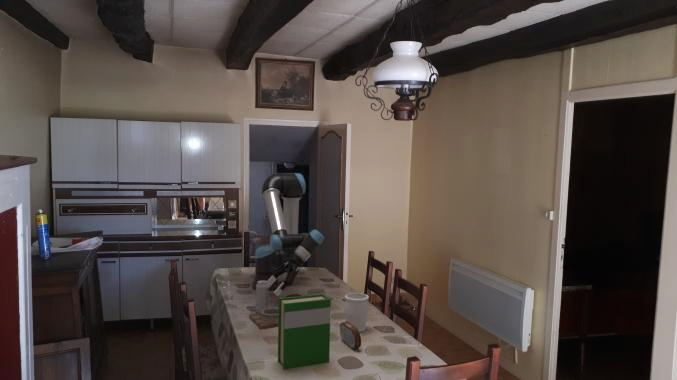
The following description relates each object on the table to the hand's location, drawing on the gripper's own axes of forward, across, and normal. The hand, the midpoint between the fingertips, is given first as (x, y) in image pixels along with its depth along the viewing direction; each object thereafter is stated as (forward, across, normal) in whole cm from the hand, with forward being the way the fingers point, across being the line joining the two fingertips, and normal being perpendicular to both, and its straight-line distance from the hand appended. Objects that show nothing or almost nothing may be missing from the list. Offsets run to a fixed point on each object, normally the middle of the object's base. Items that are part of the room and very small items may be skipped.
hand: (270, 291), depth 240 cm
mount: (+10, -11, -5) cm, 16 cm away
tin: (-2, -50, -19) cm, 54 cm away
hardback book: (+14, -57, -2) cm, 59 cm away
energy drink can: (+10, +2, -5) cm, 11 cm away
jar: (-10, -36, -26) cm, 46 cm away
